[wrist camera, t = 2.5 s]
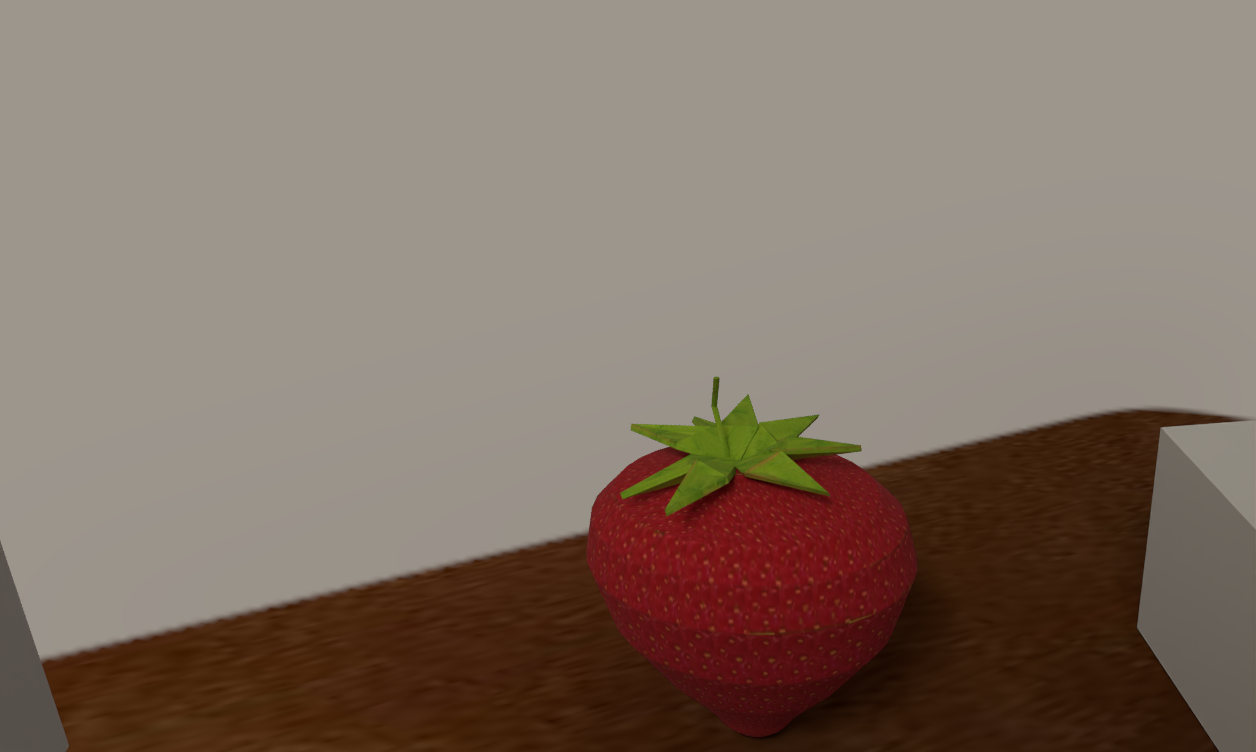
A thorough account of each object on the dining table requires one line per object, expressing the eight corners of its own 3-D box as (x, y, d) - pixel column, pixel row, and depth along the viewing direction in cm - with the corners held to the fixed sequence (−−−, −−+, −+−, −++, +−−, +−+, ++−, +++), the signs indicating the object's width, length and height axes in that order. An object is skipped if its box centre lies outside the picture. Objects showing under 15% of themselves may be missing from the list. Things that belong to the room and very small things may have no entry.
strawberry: (893, 858, 25) (900, 444, 21) (568, 790, 28) (517, 410, 24) (928, 682, 30) (938, 319, 26) (649, 639, 33) (619, 302, 29)
